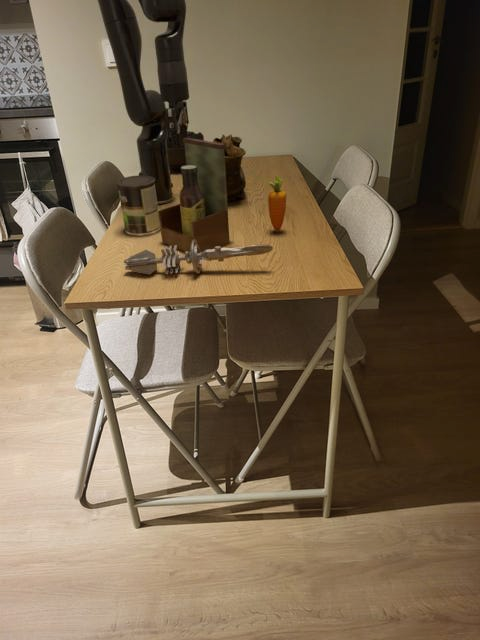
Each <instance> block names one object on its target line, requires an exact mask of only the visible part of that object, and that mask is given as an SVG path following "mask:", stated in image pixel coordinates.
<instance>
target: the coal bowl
mask: <svg viewBox="0 0 480 640" xmlns="http://www.w3.org/2000/svg"><path fill="white" fill-rule="evenodd" d="M188 127H189V125H188V126H187V127H186V128H187V134H188V138H192V139H198V140H204V141H205V137H204V134H203V133H202V132H201V131H199V132H198V133H196V132H194V131H189V130H188ZM173 128H174V126H173ZM166 142H167V151H168V159H169V168H172V169H175V170H181V167H182V166H187V165H186V155H185V145H184V143H183V142H181V141H180V143H181V148H180V149H173V147H172V139H171V134H170V133H168V136H167V141H166Z"/></svg>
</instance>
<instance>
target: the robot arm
mask: <svg viewBox="0 0 480 640" xmlns="http://www.w3.org/2000/svg"><path fill="white" fill-rule="evenodd" d="M137 1H138V3H139V5H140V7H141V11H142V13H143V15H144V16H145V18H146V19H147V20H149V21H151V22H152V23H157V24H158V23H159V24H160V23H167V26H166V30H165V31H164V32H163V33H160V34H157V35H156V36H155V37H154V48H155V55H156V56H155V57H156V62H157V63H156V65H157V69H156V70H157V79H158V86H159V92H158V91H156V90H155V89H147V90H146V88H145V84H144V82H143V81H144V80H143V78H142V71H141V59H142V50H143V48H142V47H143V41H142V33H141V29H140V26H139V21H138V18H137V15H136V12H135V9H134V8H133V6H132V5H131V3H130V2H129V1H128V0H97V3H98V7H99V10H100V14H101V18H102V22H103V25H104V28H105V33H106V36H107V39H108V42H109V45H110V49H111V50H112V55H113V59H114V62H115V66H116V70H117V73H118V77H119V82H120V86H121V93H122V96H123V97H122V98H123V102H124V106H125V107H124V108H125V110H126V112H127V113H126V114H127V115H128V118H129V119H130V121H131V122H132V123H133V124H134V125H136V126H137V127H141V131H140V134H139V135H138V136H137V138H136V146H137V155H138V161H139V168H140V172H139V173H138V175H144V176H151V177H153V178H154V179H155V189H156V197H157V204H158V205H163V204H164V205H165V204H169V203H171V202H172V201H173V200H174V193H173V189H174V183H173V182H172V177H171V169H170V168H171V167H169V159H168V151H167V142H166V141H167V136H168V133H170V134H171V139H172V147H173V149H180V148H181V143H180V141H181V142H183V138H188V134H187V131H188V129H187V128H186V127H187V126H188V127H189V124H190V121H189V113H188V104H187V101H188V100H189V99H190V90H189V81H188V71H187V67H186V61H185V52H184V34H185V24H186V23H185V22H186V17H187V16H186V15H187V2H186V0H137ZM166 103H168V107H167V106H166ZM173 126H174V128H173Z"/></svg>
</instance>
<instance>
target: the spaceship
mask: <svg viewBox="0 0 480 640" xmlns="http://www.w3.org/2000/svg"><path fill="white" fill-rule="evenodd" d="M168 247H169V248H168ZM176 248H177V245H174V247H172V246H168V245H166V246H164V249H161V257H160V258H159V257H157V258H156V253H154V252H153V251H149V250H148V249H145V250H142V251H140V252H137V253H136V254H135V253H134V254H133V255H131V256H129V257H128V258H126V259H124V260H123V265H125V266H124V269H125V270H128V271H132V273H133V272H134V273H138V274H139V273H140V274H145V275H148V276H149V275H152V273H154V272H156V270H158V264H162V269H165V275H168V274H173V273H174V274H177V273H178V271H179V270H181V262H182V261H186V263H187V264H191V266H192V268H193V270H194V271H195V273H196V274H197V275H199V274H200V273H201V269H202V265H203V260H204V261H207V262H212V261H215V260H216V261H218V262H219V263H220V262H221V263H222V262H224V260H226V259H230V258H237V257H244V256H259V255H265V254H267V253H270V252H271V251H273V249H274V247H273V246H272V245H270V244H262V243H260V244H253V245H245V246H236V247H222V246H221V247H220V246H216V247H215V248H214V249H208V250H205V251H204V252H201V251H200V248H199V245H198V243H197V241H196V240H195V239H193V240H192V243H191V248H190V251H191V253H190V252H184V255H180V250H179V251H177V249H176Z"/></svg>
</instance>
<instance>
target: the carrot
mask: <svg viewBox="0 0 480 640" xmlns="http://www.w3.org/2000/svg"><path fill="white" fill-rule="evenodd" d="M274 178H275V183H273V182H271V181H268V182H267V184H268V185H269V186H271V187H272V188H273V190H271V191H269V192H268V197H267V201H268V213H269V220H270V223H271V225H272V227H273V229H274V231H275V232H276V233H279V232H280V230H281V228H282V227H283V224H284V221H285V215H286V209H287V192H286V191H284V190H282V189H281V188H282V184H283V179H282V178H280V177H279V175H276V176H274Z"/></svg>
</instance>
